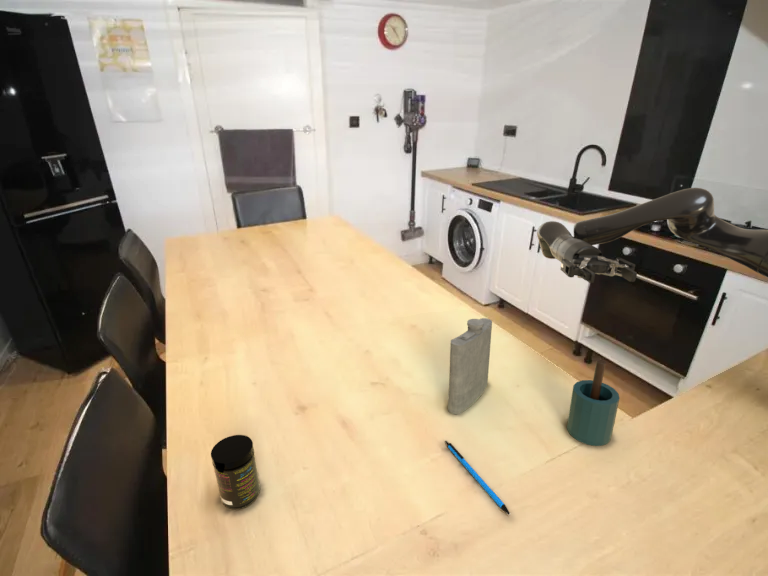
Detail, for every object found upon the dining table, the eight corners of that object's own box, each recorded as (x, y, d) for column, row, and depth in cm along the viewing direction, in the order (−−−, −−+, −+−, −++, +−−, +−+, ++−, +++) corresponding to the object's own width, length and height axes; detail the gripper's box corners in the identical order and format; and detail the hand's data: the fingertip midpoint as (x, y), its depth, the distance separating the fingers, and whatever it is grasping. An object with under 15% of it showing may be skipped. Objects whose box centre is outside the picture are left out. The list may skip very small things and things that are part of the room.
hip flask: (477, 379, 104) (482, 307, 97) (492, 384, 102) (498, 311, 95) (445, 410, 93) (448, 331, 86) (461, 417, 90) (465, 337, 83)
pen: (447, 442, 83) (447, 437, 83) (512, 515, 67) (512, 510, 66) (443, 443, 83) (443, 439, 82) (507, 517, 67) (508, 512, 66)
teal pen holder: (598, 418, 89) (605, 379, 85) (618, 445, 81) (628, 403, 78) (560, 419, 89) (566, 380, 85) (577, 446, 81) (584, 404, 78)
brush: (593, 422, 87) (605, 356, 81) (601, 434, 83) (615, 366, 78) (576, 423, 87) (587, 357, 81) (584, 435, 83) (596, 366, 78)
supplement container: (268, 485, 74) (261, 438, 71) (245, 516, 68) (236, 467, 65) (237, 476, 76) (228, 431, 73) (212, 506, 70) (201, 458, 67)
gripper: (551, 242, 99) (581, 261, 84) (610, 240, 99) (651, 259, 84) (547, 271, 101) (576, 295, 86) (605, 270, 101) (644, 293, 86)
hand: (613, 278), depth 85 cm, fingers open, 8 cm apart
